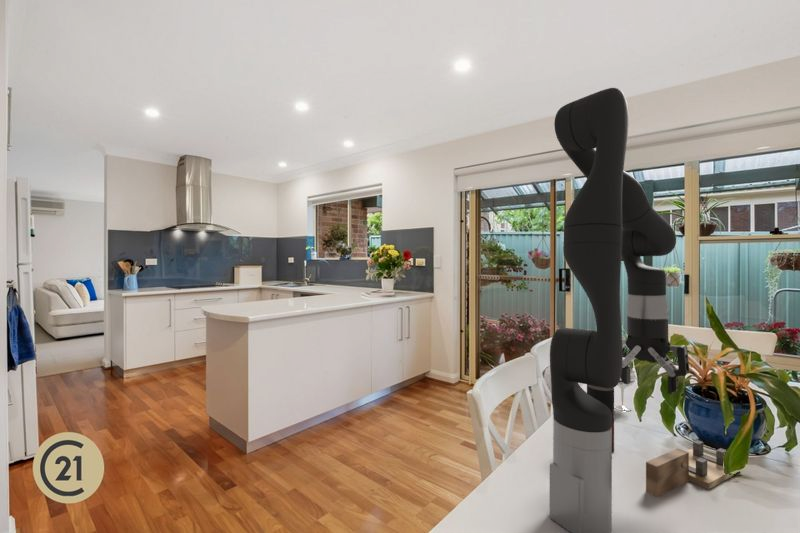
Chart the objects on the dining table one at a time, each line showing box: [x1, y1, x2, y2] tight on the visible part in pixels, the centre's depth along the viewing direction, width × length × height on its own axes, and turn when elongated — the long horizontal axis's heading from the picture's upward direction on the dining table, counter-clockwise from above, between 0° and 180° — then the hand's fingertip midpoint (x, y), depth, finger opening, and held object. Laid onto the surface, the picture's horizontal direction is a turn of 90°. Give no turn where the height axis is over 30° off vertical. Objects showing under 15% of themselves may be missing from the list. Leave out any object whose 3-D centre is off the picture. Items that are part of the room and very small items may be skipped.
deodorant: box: [586, 384, 615, 454], centre depth 91 cm, size 6×6×15 cm
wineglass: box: [615, 369, 636, 410], centre depth 118 cm, size 7×7×12 cm
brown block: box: [645, 447, 689, 498], centre depth 75 cm, size 12×2×6 cm, turn 118°
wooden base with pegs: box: [685, 439, 735, 490], centre depth 82 cm, size 14×9×4 cm, turn 118°
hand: (648, 388), depth 82 cm, fingers open, 8 cm apart
